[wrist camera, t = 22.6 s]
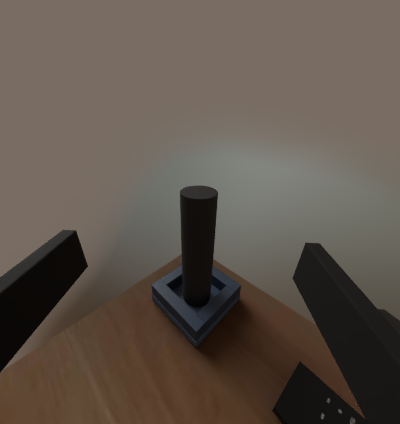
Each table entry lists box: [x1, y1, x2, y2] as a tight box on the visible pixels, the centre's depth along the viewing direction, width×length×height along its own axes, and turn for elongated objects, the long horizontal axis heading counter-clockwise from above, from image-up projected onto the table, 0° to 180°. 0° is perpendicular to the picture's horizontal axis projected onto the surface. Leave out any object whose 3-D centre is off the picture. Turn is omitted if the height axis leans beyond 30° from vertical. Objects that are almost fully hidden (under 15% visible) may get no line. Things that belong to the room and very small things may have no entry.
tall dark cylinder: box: [180, 186, 218, 307], centre depth 23 cm, size 4×4×16 cm
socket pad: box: [151, 265, 241, 347], centre depth 26 cm, size 9×9×3 cm
